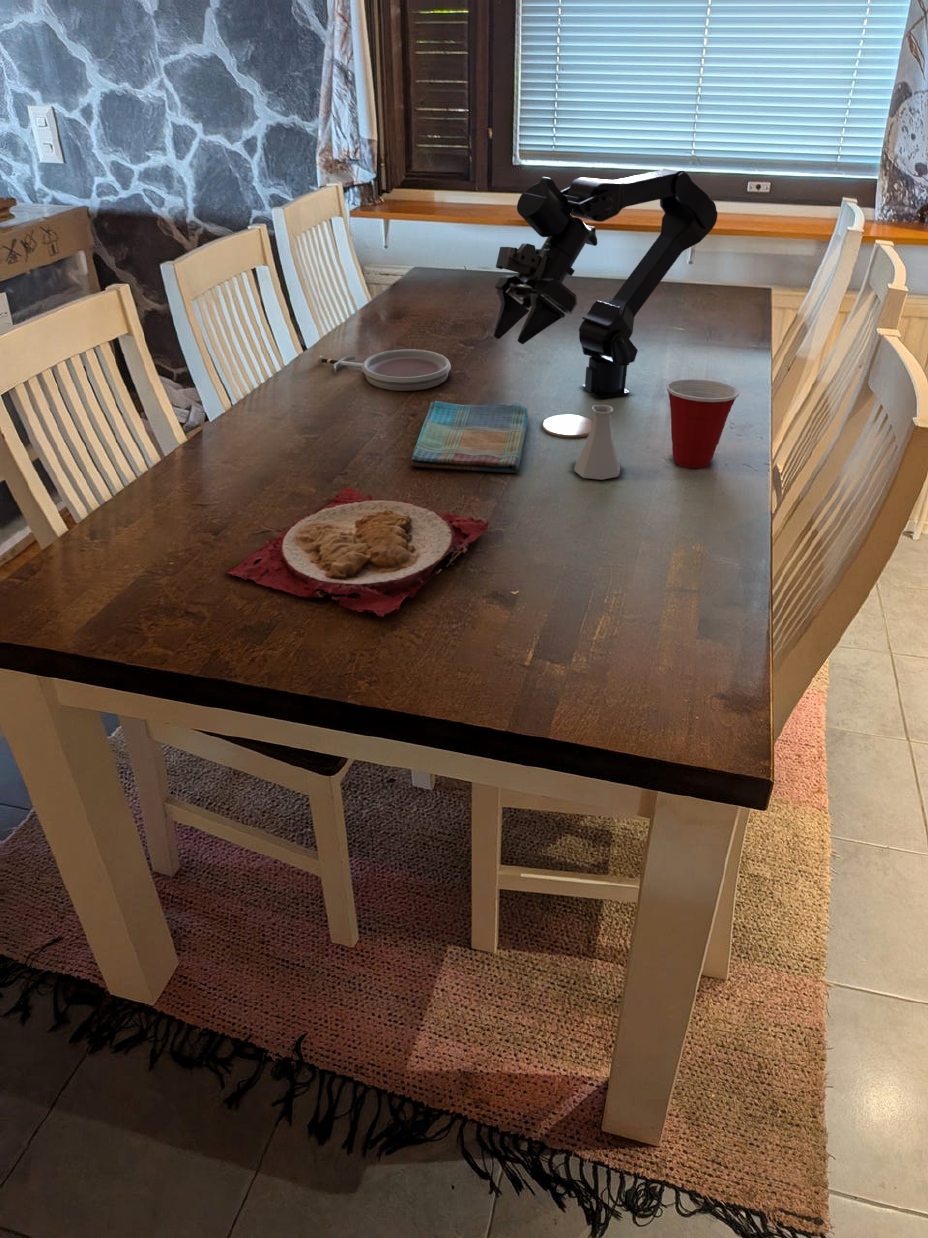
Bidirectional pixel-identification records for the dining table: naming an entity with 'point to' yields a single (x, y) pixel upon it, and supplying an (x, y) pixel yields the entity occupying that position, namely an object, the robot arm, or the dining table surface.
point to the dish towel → (472, 437)
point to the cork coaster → (568, 426)
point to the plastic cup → (698, 418)
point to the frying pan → (400, 369)
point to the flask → (599, 448)
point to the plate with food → (361, 551)
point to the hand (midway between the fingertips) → (507, 339)
